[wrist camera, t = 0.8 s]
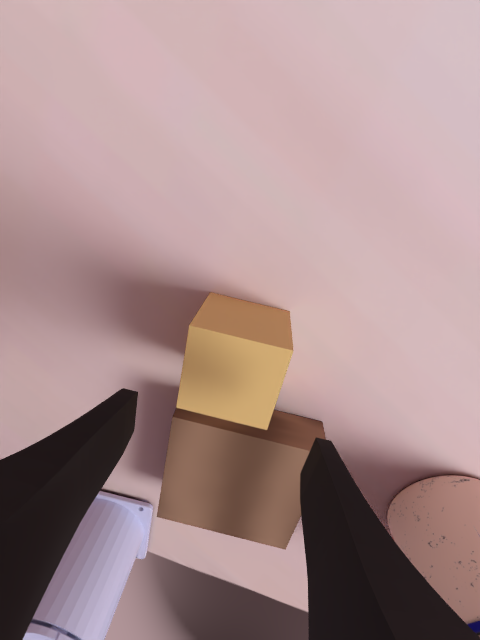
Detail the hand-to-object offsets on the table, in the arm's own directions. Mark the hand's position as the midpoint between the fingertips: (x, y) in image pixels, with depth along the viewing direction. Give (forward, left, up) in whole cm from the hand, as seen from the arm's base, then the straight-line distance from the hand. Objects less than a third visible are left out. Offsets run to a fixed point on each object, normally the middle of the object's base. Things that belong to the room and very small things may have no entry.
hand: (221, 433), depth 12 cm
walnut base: (+2, -10, -8) cm, 13 cm away
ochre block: (0, 0, -8) cm, 9 cm away
